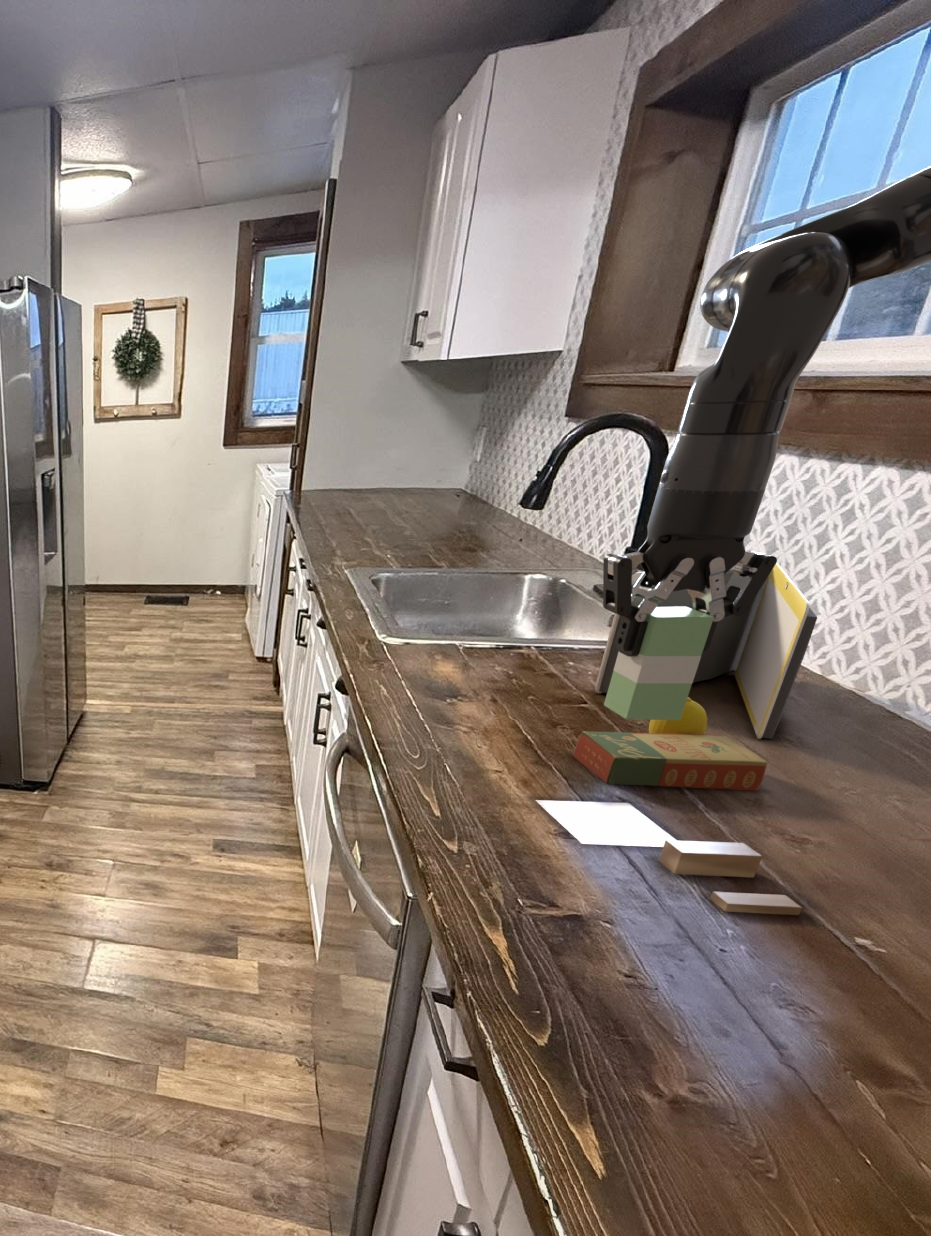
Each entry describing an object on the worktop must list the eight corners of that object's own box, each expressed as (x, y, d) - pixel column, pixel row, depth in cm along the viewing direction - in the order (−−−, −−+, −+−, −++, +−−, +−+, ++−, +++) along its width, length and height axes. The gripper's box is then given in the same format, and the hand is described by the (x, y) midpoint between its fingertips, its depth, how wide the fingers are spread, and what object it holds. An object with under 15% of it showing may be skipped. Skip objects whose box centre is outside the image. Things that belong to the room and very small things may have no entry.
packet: (587, 642, 87) (648, 593, 77) (637, 642, 86) (706, 592, 76) (609, 729, 83) (677, 688, 73) (662, 729, 82) (737, 688, 72)
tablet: (796, 748, 102) (854, 604, 95) (591, 717, 114) (628, 587, 107) (754, 672, 128) (797, 555, 121) (590, 654, 140) (620, 546, 133)
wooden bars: (657, 863, 80) (665, 839, 79) (734, 866, 79) (743, 842, 78) (717, 914, 72) (727, 888, 71) (804, 918, 71) (815, 892, 70)
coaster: (627, 805, 91) (628, 802, 91) (686, 851, 82) (687, 848, 81) (534, 802, 92) (534, 799, 92) (581, 847, 83) (582, 844, 83)
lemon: (704, 764, 99) (724, 706, 96) (651, 759, 101) (669, 703, 98) (684, 746, 104) (703, 691, 101) (634, 742, 106) (651, 688, 103)
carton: (758, 793, 92) (771, 761, 90) (605, 786, 95) (614, 755, 94) (712, 763, 99) (723, 732, 98) (571, 757, 103) (579, 728, 101)
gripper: (651, 490, 71) (602, 666, 77) (834, 485, 68) (767, 666, 75) (603, 481, 77) (561, 644, 84) (767, 477, 75) (711, 644, 82)
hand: (659, 653), depth 79 cm, fingers closed on packet, 5 cm apart
